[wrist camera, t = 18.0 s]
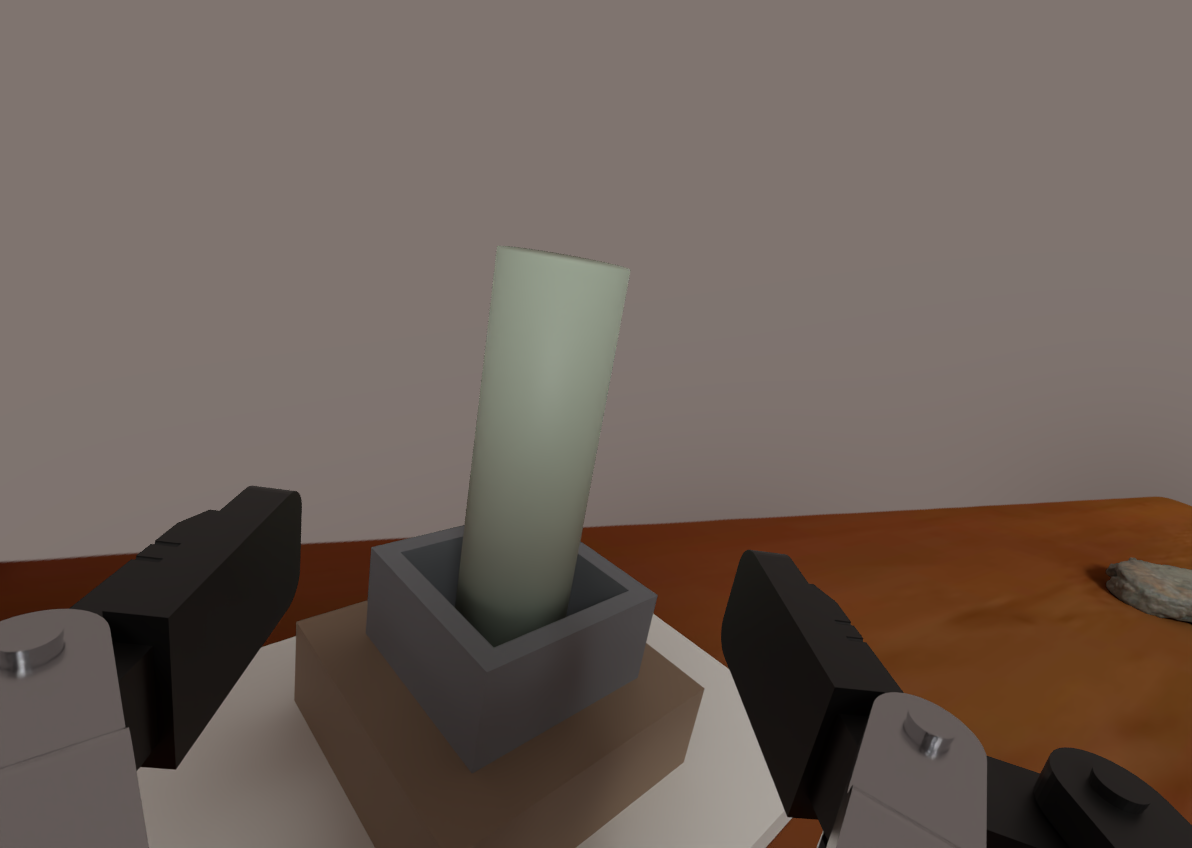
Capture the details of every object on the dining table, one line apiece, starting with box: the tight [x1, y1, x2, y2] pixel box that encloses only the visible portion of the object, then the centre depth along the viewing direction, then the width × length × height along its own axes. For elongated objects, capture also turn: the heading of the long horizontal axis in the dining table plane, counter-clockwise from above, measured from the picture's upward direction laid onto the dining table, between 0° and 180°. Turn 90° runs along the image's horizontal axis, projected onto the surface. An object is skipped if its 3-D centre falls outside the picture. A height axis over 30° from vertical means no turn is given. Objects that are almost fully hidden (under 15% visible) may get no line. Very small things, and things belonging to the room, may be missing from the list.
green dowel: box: [455, 246, 631, 647], centre depth 22 cm, size 4×4×16 cm
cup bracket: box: [137, 525, 791, 848], centre depth 25 cm, size 26×20×10 cm
